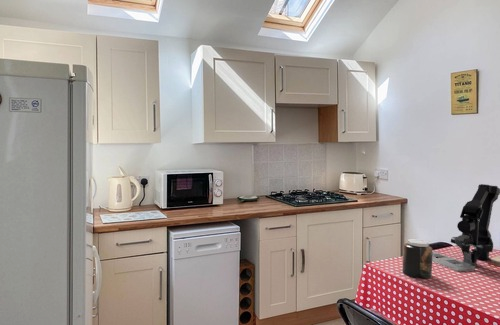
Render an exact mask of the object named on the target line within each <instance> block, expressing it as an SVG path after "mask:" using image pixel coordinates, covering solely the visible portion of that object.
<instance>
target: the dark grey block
mask: <svg viewBox="0 0 500 325" xmlns="http://www.w3.org/2000/svg"><path fill="white" fill-rule="evenodd" d="M462 258H463V259H462V261H463V262H466V263H469V264H472V265H474V266H475V267H476V266H477V263H478V260H477V261H476V262H475V263H473V252H472V250H469V251H465V252H464V255H463V257H462Z"/></svg>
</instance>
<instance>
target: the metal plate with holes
mask: <svg viewBox="0 0 500 325" xmlns="http://www.w3.org/2000/svg"><path fill="white" fill-rule="evenodd" d="M436 257H438V258H436ZM432 261H433V262H432V263H434V264H435V263H436V264H437V263H438V265H439V266H443V267H445V268H448V269H451V270H453V271H456V272H460V273H462V272H467V271H468V272H469V271H475V270H476V266H474V265H472V264H469V263H466V262H463V260H460V259H457V258H454V257H451V256H448V255H446V254H442V253H440V252H437V251H433V250H432Z"/></svg>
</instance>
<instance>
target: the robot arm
mask: <svg viewBox="0 0 500 325" xmlns="http://www.w3.org/2000/svg"><path fill="white" fill-rule="evenodd" d="M499 196H500V188H499V187H498V185H492V184H491V185H489V184H483V183H481V184H479V185H478V187H477V190H476V192H475V193H474V196H473V198H472V200H469V201H467V202H466V203H465V204H464V206H462V210H461V212H460V217H459V218H460V219H461V220H460V221H458V222H457V225H456V227H457V230H458V231H459V232H461V234H460V235H458V236H453V237H451V239H450V243H451V244H455V245H456V246H457V247H458V248H460V250H461V252H462V255H463V256H464V252H465V251H471V252H473V263H475V262H476V261H477V262H478V260H479V261H482V262H483V261H491V260H490V259H492V258H491V257H490V253H493V249H494V242H493V239H492V234H491V231H490V230H489V228H490V223H491V216H492V212H493V205H494V203H495V202H496V201H497V200H498V198H499ZM471 247H473V249H471Z"/></svg>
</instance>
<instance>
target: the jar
mask: <svg viewBox="0 0 500 325" xmlns="http://www.w3.org/2000/svg"><path fill="white" fill-rule="evenodd" d="M432 252H433V247H432V246H430V244H429V241H427V240H424V239H420V238H419V239H418V238H408V239H407V242H406V243H404V244H403V253H402V254H403V255H402V273H403V274H404V275H406V277H409V278H410V277H411V278H414V279H419V280H420V279H421V280H428V279H431V278H432V273H433V272H432V271H433V262H432Z"/></svg>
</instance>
